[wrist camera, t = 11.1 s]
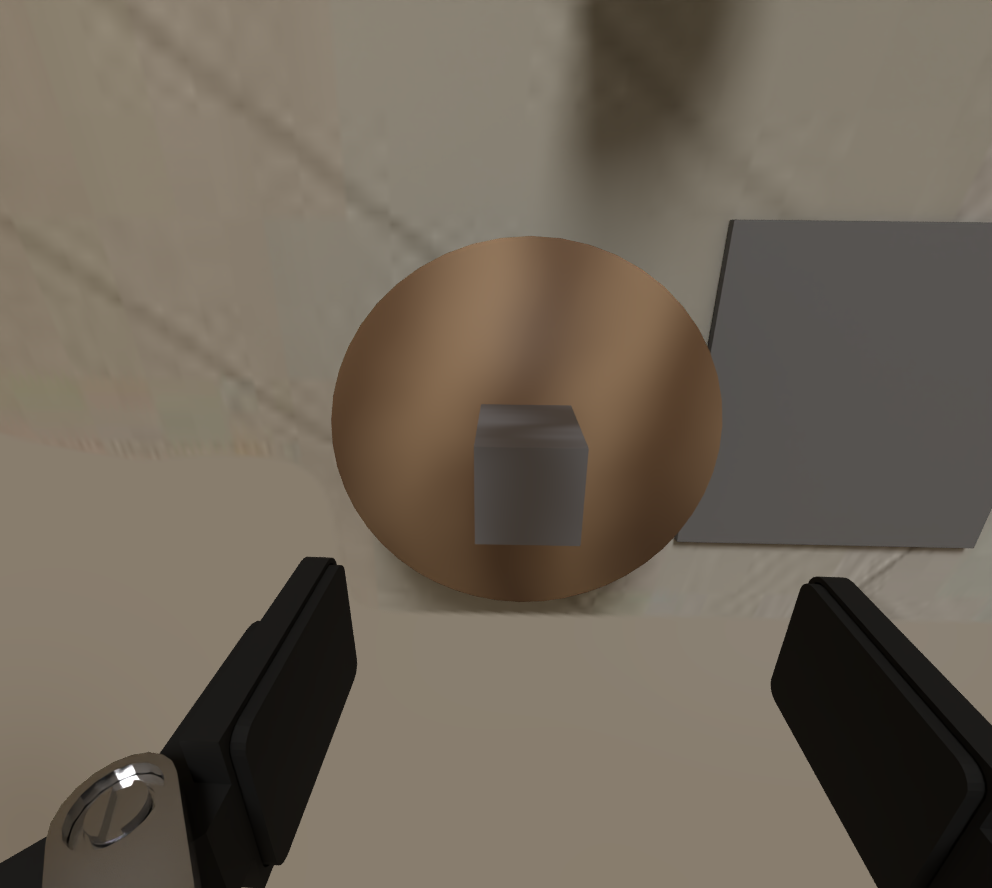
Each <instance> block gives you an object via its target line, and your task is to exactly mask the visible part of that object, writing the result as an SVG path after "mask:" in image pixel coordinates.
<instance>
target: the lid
mask: <svg viewBox="0 0 992 888" xmlns="http://www.w3.org/2000/svg"><path fill="white" fill-rule="evenodd" d="M331 422H332V439H333V447H334V452H335V457H336V462H337V467H338V470H339V473H340V476H341V479H342V481H343V484H344V487H345V490H346V492H347V494H348V496H349V498H350V500H351V502H352V504H353V506H354V508H355V509H356V511H357V512H358V514H359V515H360V517H361V518H362V520H363V521H364V523H365V524H366V526H367V527H368V528H369V529H370V531H371V532H372V533H373V534H374V535H375V536H376V537H377V539H378V540H379V541H380V542H381V543H382V544H383V545H384V546H385V547H386V548H387V549H388V550H389V551H391V552H392V553H393V554H394V555H395V556H396V557H397V558H398V559H400V560H401V561H403V562H404V563H405V564H407V565H408V566H410V567H411V568H412V569H414V570H415V571H417V572H419V573H420V574H422V575H424V576H426V577H428V578H429V579H431V580H433V581H435V582H437V583H439V584H442V585H444V586H447V587H449V588H451V589H454V590H457V591H460V592H463V593H467V594H470V595H474V596H477V597H483V598H488V599H494V600H502V601H515V602H530V601H546V600H553V599H561V598H566V597H570V596H574V595H578V594H582V593H586V592H589V591H591V590H594V589H597V588H600V587H602V586H605V585H607V584H609V583H611V582H613V581H615V580H617V579H619V578H621V577H624V576H626V575H627V574H629V573H630V572H632V571H634V570H635V569H637V568H638V567H640V566H641V565H643V564H644V563H646V562H647V561H648V560H650V559H651V558H652V557H653V556H654V555H656V554H657V553H658V552H659V551H661V550H662V549H663V548H664V547H665V546H666V545H667V544H668V543H669V542H670V541H671V540H672V539H673V538H674V537H675V536H676V535H677V534H678V532H679V531H680V530H681V529H682V527H683V526H684V525H685V523H686V522H687V521H688V519H689V518H690V517H691V515H692V514H693V512H694V511H695V509H696V507H697V505H698V504H699V502H700V500H701V499H702V497H703V495H704V493H705V491H706V488H707V486H708V484H709V481H710V479H711V476H712V474H713V471H714V468H715V464H716V460H717V456H718V453H719V448H720V440H721V432H722V398H721V392H720V386H719V380H718V375H717V372H716V369H715V366H714V363H713V360H712V357H711V353H710V351H709V349H708V347H707V345H706V343H705V341H704V339H703V337H702V335H701V333H700V331H699V329H698V327H697V326H696V324H695V323H694V321H693V320H692V319H691V317H690V316H689V314H688V313H687V312H686V310H685V309H684V307H683V306H682V305H681V304H680V303H679V302H678V301H677V300H676V299H675V298H674V297H673V295H672V294H671V293H670V292H669V291H668V290H667V289H666V288H665V287H664V286H663V285H661V284H660V283H659V282H657V281H656V280H655V279H654V278H652V277H651V276H650V275H648V274H647V273H646V272H645V271H643V270H642V269H640V268H639V267H637V266H635V265H633V264H631V263H630V262H628V261H626V260H624V259H623V258H621V257H619V256H617V255H615V254H612V253H610V252H607V251H604V250H602V249H599V248H596V247H594V246H591V245H588V244H583V243H579V242H575V241H570V240H566V239H561V238H549V237H536V236H525V237H510V238H499V239H495V240H490V241H485V242H480V243H475V244H471V245H469V246H466V247H463V248H460V249H458V250H455V251H452V252H449V253H447V254H444V255H442V256H441V257H439V258H437V259H435V260H433V261H431V262H429V263H427V264H425V265H424V266H422V267H420V268H418V269H417V270H416V271H414V272H413V273H412V274H410V275H409V276H407V277H406V278H405V279H403V280H402V281H401V282H399V283H398V284H397V285H396V286H395V287H394V288H393V289H391V290H390V291H389V292H388V293H387V294H386V295H385V296H384V297H383V298H382V299H381V300H380V301H379V302H378V303H377V304H376V306H375V307H374V308H373V310H372V311H371V312H370V313H369V315H368V316H367V317H366V319H365V320H364V321H363V323H362V324H361V325H360V327H359V329H358V331H357V332H356V334H355V336H354V338H353V340H352V341H351V343H350V345H349V347H348V349H347V352H346V354H345V357H344V359H343V362H342V365H341V367H340V370H339V373H338V377H337V382H336V386H335V391H334V395H333V406H332V418H331Z"/></svg>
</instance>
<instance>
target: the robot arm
mask: <svg viewBox="0 0 992 888" xmlns="http://www.w3.org/2000/svg"><path fill="white" fill-rule="evenodd" d="M356 669H357V658H356V650H355V643H354V635H353V629H352V621H351V613H350V606H349V599H348V591H347V584H346V577H345V570H344V567H343V566H342V565H337V564H336V561H335V559H334V558H326V557H305V558H304V559H303V560H302V561H301V562H300V564H299V565H298V567H297V568H296V570H295V571H294V573H293V574H292V575H291V577H290V578H289V580H288V581H287V583H286V584H285V586H284V587H283V589H282V590H281V592H280V593H279V594H278V596H277V597H276V599H275V600H274V602H273V603H272V605H271V606H270V608H269V609H268V611H267V612H266V614H265V615H264V617H263V618H262V619H261V621H256V622H255V623H253V624H252V625H251V626H250V627H249V628H248V629H247V630H246V632H245V633H244V634H243V636H242V637H241V639H240V640H239V641H238V643H237V645H236V646H235V647H234V649H233V650H232V651H231V653H230V654H229V656H228V657H227V659H226V660H225V661H224V663H223V664H222V666H221V667H220V668H219V670H218V671H217V673H216V674H215V676H214V677H213V679H212V680H211V681H210V683H209V684H208V686H207V687H206V688H205V690H204V691H203V693H202V694H201V695H200V697H199V698H198V700H197V701H196V703H195V704H194V706H193V707H192V708H191V710H190V711H189V713H188V714H187V715H186V717H185V718H184V720H183V721H182V722H181V724H180V725H179V727H178V728H177V730H176V731H175V732H174V734H173V735H172V737H171V738H170V740H169V741H168V742H167V744H166V745H165V747H164V748H163V750H162V751H161V752H160V754H156V753H151V752H147V753H141V754H134V755H131V756H128V757H125V758H123V759H120V760H117V761H115V762H113V763H111V764H109V765H108V766H106V767H104V768H103V769H101V770H99V771H98V772H96V773H94V774H93V775H92V776H91V777H89V778H88V779H87V780H86V781H84V782H83V783H82V784H81V785H79V786H78V787H77V788H76V789H75V790H74V791H73V792H72V794H71V795H70V796H69V797H68V798H67V799H66V800H65V801H64V803H63V804H62V805H61V806H60V808H59V810H58V811H57V813H56V815H55V817H54V818H53V820H52V821H51V823H50V827H49V831H48V835H47V837H45V838H43V839H42V840H40V841H38V842H36V843H35V844H33V845H31V846H30V847H28V848H26V849H24V850H23V851H21V852H19V853H17V854H16V855H14V856H12V857H10V858H9V859H7V860H5V861H3V862H2V863H0V888H241V887H248V888H265V886H266V883H267V881H268V878H269V876H270V873H271V871H272V868H273V866H274V865H281V864H282V863H283V862H284V860H285V859H286V857H287V855H288V852H289V850H290V847H291V845H292V842H293V839H294V837H295V834H296V831H297V829H298V826H299V824H300V821H301V818H302V816H303V813H304V810H305V808H306V805H307V803H308V800H309V797H310V795H311V792H312V789H313V787H314V784H315V781H316V779H317V776H318V774H319V771H320V768H321V766H322V763H323V760H324V758H325V755H326V752H327V750H328V747H329V745H330V742H331V739H332V737H333V734H334V731H335V729H336V726H337V723H338V721H339V718H340V715H341V713H342V710H343V708H344V705H345V702H346V699H347V697H348V695H349V692H350V689H351V686H352V684H353V681H354V678H355V675H356ZM771 691H772V695H773V698H774V700H775V702H776V704H777V706H778V708H779V709H780V711H781V713H782V715H783V717H784V718H785V720H786V722H787V724H788V726H789V728H790V729H791V731H792V733H793V735H794V737H795V738H796V740H797V742H798V744H799V746H800V747H801V749H802V751H803V753H804V755H805V757H806V758H807V760H808V762H809V764H810V765H811V767H812V769H813V771H814V773H815V775H816V776H817V778H818V780H819V782H820V784H821V786H822V787H823V789H824V791H825V793H826V795H827V796H828V798H829V800H830V802H831V804H832V806H833V807H834V809H835V811H836V813H837V815H838V816H839V818H840V820H841V822H842V824H843V825H844V827H845V829H846V831H847V833H848V834H849V836H850V838H851V840H852V842H853V844H854V846H855V847H856V849H857V851H858V853H859V855H860V856H861V858H862V860H863V862H864V864H865V865H866V867H867V869H868V871H869V873H870V875H871V876H872V878H873V879H874V882H875V883H876V885H877V887H878V888H992V725H991V724H990V723H989V722H988V721H987V720H986V719H985V718H984V717H983V716H982V715H981V714H980V713H979V712H978V711H977V710H976V709H975V708H974V707H973V705H971V703H970V702H969V701H968V700H967V699H966V698H965V697H964V696H963V695H962V694H961V693H960V692H959V691H958V690H957V689H956V688H955V687H954V686H953V685H952V684H951V683H950V682H949V681H948V680H947V679H946V678H945V677H944V676H943V675H942V674H941V673H940V672H939V670H938V669H937V668H936V667H935V666H934V665H933V664H932V663H931V662H930V661H929V660H928V659H927V658H926V657H925V656H924V655H923V654H922V653H921V652H920V651H919V650H918V649H917V648H916V647H915V646H914V645H913V644H912V643H911V642H910V641H909V640H908V638H906V636H905V635H904V634H903V633H902V632H901V631H900V630H899V629H898V628H897V627H896V626H895V625H894V624H893V623H892V622H891V621H890V620H889V619H888V618H887V617H886V616H885V615H884V614H883V613H882V612H881V611H880V610H879V609H878V608H877V607H876V606H875V604H874V603H873V602H872V601H871V600H870V599H869V598H868V597H867V596H866V595H865V594H864V593H863V592H862V591H861V590H860V589H859V588H858V587H857V586H856V585H855V584H854V583H853V582H852V581H851V580H849V579H847V578H840V577H813V578H812V579H811V580H810V581H809V583H808V584H804V585H803V586H802V587H801V589H800V592H799V595H798V598H797V601H796V604H795V607H794V610H793V613H792V616H791V620H790V623H789V626H788V629H787V632H786V635H785V638H784V641H783V645H782V647H781V651H780V654H779V657H778V660H777V663H776V666H775V669H774V672H773V676H772V679H771Z"/></svg>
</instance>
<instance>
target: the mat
mask: <svg viewBox="0 0 992 888" xmlns="http://www.w3.org/2000/svg"><path fill="white" fill-rule="evenodd" d="M708 349H709V351H710V353H711V357H712V360H713V363H714V366H715V369H716V372H717V375H718V380H719V386H720V392H721V398H722V432H721V440H720V448H719V453H718V456H717V460H716V464H715V468H714V471H713V474H712V476H711V479H710V481H709V484H708V486H707V488H706V491H705V493H704V495H703V497H702V499H701V500H700V502H699V504H698V505H697V507H696V509H695V511H694V512H693V514H692V515H691V517H690V518H689V519H688V521H687V522H686V523H685V525H684V526H683V527H682V529H681V530H680V531H679V532H678V534H677V535H676V536H675V537H674V538H675V539H676V541H677V542H713V543H758V544H803V545H848V546H893V547H938V548H974V546H975V544H976V542H977V540H978V538H979V535H980V533H981V531H982V529H983V527H984V524H985V522H986V520H987V518H988V516H989V513H990V511H991V509H992V223H974V222H889V221H804V220H730V224H729V229H728V235H727V241H726V246H725V252H724V258H723V263H722V269H721V275H720V281H719V286H718V292H717V298H716V303H715V309H714V315H713V320H712V326H711V332H710V337H709V343H708Z"/></svg>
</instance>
